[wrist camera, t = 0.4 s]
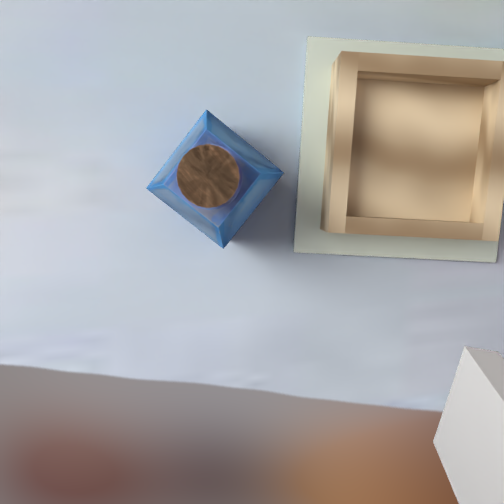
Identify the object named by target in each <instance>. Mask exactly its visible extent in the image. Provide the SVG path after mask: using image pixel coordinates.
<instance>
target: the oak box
mask: <svg viewBox="0 0 504 504" xmlns="http://www.w3.org/2000/svg"><path fill="white" fill-rule="evenodd" d="M503 200H504V61H493V60H477V59H462V58H446V57H430V56H414V55H398V54H383V53H367V52H351V51H341V52H340V54H339V55H338V57H337V58H336V60H335V61H334V63H333V64H332V70H331V83H330V97H329V111H328V125H327V139H326V153H325V167H324V180H323V194H322V208H321V222H320V229H321V230H323V231H325V232H328V233H346V234H365V235H385V236H404V237H423V238H443V239H462V240H481V241H499V233H500V225H501V217H502V208H503Z"/></svg>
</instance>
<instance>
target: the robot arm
mask: <svg viewBox="0 0 504 504" xmlns="http://www.w3.org/2000/svg"><path fill="white" fill-rule="evenodd" d="M433 442H434V445H435V447H436V449H437V452H438V454H439V457H440V459H441V462H442V464H443V466H444V469H445V471H446V474H447V476H448V478H449V481H450V483H451V486H452V488H453V491H454V493H455V496H456V498H457V500H458V502H459V504H504V358H503V357H502V356H501V355H500V353H499V352H497V351H491V350H485V349H479V348H472V347H466V346H465V347H464V350H463V353H462V356H461V359H460V362H459V365H458V368H457V371H456V374H455V377H454V380H453V383H452V386H451V389H450V392H449V395H448V398H447V401H446V405H445V408H444V411H443V414H442V417H441V420H440V423H439V426H438V429H437V432H436V435H435V438H434V441H433Z"/></svg>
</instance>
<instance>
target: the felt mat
mask: <svg viewBox="0 0 504 504" xmlns="http://www.w3.org/2000/svg"><path fill="white" fill-rule="evenodd" d="M341 51H351V52H367V53H383V54H398V55H414V56H430V57H446V58H462V59H477V60H493V61H504V49H497V48H481V47H465V46H450V45H434V44H419V43H403V42H387V41H372V40H356V39H341V38H325V37H309V36H308V38H307V50H306V66H305V81H304V96H303V112H302V127H301V142H300V158H299V173H298V188H297V204H296V219H295V234H294V250H293V252H297V253H317V254H337V255H357V256H377V257H397V258H417V259H436V260H456V261H476V262H496V258H497V250H498V242H499V241H481V240H462V239H443V238H423V237H404V236H385V235H365V234H346V233H328V232H325V231H323V230H321V229H320V222H321V208H322V194H323V180H324V167H325V153H326V139H327V125H328V111H329V97H330V83H331V70H332V64H333V63H334V61H335V60H336V58H337V57H338V55H339V54H340V52H341ZM503 201H504V200H503ZM502 209H503V208H502Z"/></svg>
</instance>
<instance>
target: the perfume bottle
mask: <svg viewBox="0 0 504 504" xmlns="http://www.w3.org/2000/svg"><path fill="white" fill-rule="evenodd" d="M283 173H284V172H282V171H281V170H280V169H279V168H277V167H276V166H275V165H274V164H273V163H271V162H270V161H269V160H268V159H266V158H265V157H264V156H263V155H262V154H260V153H259V152H258V151H257V150H255V149H254V148H253V147H252V146H251V145H249V144H248V143H247V142H246V141H244V140H243V139H242V138H241V137H240V136H238V135H237V134H236V133H235V132H233V131H232V130H231V129H230V128H229V127H227V126H226V125H225V124H224V123H222V122H221V121H220V120H219V119H218V118H216V117H215V116H214V115H213V114H211V113H210V112H209V111H208V110H206V111H205V112H204V113H203V115H202V116H201V117H200V119H199V120H198V121H197V123H196V124H195V125H194V126H193V128H192V129H191V130H190V132H189V133H188V134H187V136H186V137H185V138H184V140H183V141H182V142H181V143H180V145H179V146H178V147H177V149H176V150H175V151H174V153H173V154H172V155H171V157H170V158H169V159H168V160H167V162H166V163H165V164H164V166H163V167H162V168H161V170H160V171H159V172H158V174H157V175H156V176H155V177H154V179H153V180H152V181H151V183H150V184H149V185H148V187H147V188H146V189H148V190H149V191H150V192H152V193H153V194H154V195H155V196H157V197H158V198H159V199H160V200H162V201H163V202H164V203H166V204H167V205H168V206H169V207H171V208H172V209H173V210H175V211H176V212H177V213H178V214H180V215H181V216H182V217H183V218H185V219H186V220H187V221H189V222H190V223H191V224H192V225H194V226H195V227H196V228H197V229H199V230H200V231H201V232H203V233H204V234H205V235H206V236H208V237H209V238H210V239H212V240H213V241H214V242H215V243H217V244H218V245H219V246H220V247H222V248H223V249H224V247H225V246H226V245H227V244H228V242H229V241H230V240H231V239H232V237H233V236H234V235H235V234H236V232H237V231H238V230H239V229H240V227H241V226H242V225H243V224H244V222H245V221H246V220H247V219H248V217H249V216H250V215H251V213H252V212H253V211H254V210H255V208H256V207H257V206H258V205H259V203H260V202H261V201H262V200H263V198H264V197H265V196H266V195H267V193H268V192H269V191H270V190H271V188H272V187H273V186H274V185H275V183H276V182H277V181H278V179H279V178H280V177H281V176H282V174H283Z"/></svg>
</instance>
